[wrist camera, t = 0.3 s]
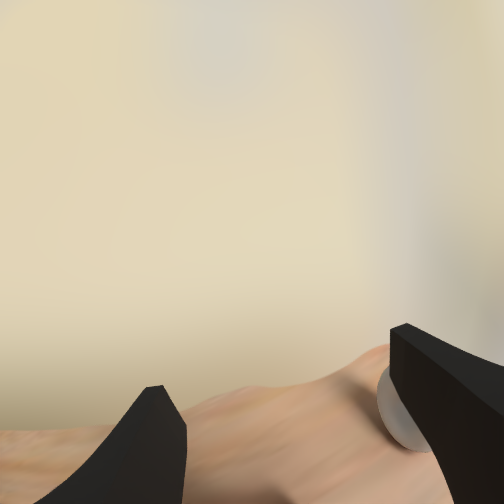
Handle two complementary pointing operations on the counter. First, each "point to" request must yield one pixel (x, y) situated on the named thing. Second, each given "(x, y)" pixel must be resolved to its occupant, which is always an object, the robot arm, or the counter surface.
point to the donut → (398, 416)
